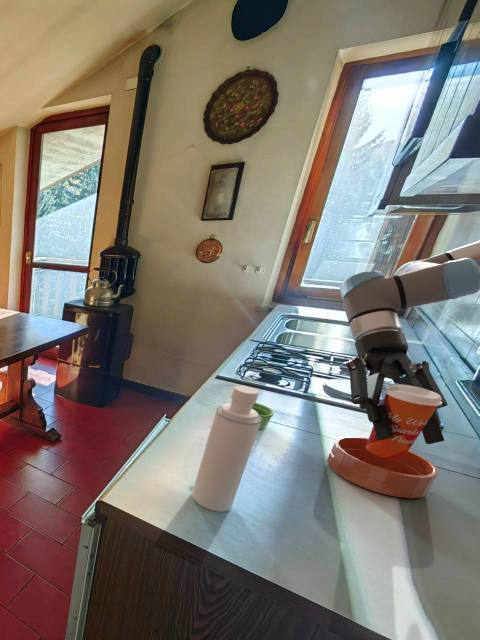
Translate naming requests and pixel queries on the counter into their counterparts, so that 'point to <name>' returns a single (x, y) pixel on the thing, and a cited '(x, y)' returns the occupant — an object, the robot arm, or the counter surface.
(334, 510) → the counter surface
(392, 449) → the paper cup
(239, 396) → the white bottle
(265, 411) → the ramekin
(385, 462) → the bowl
